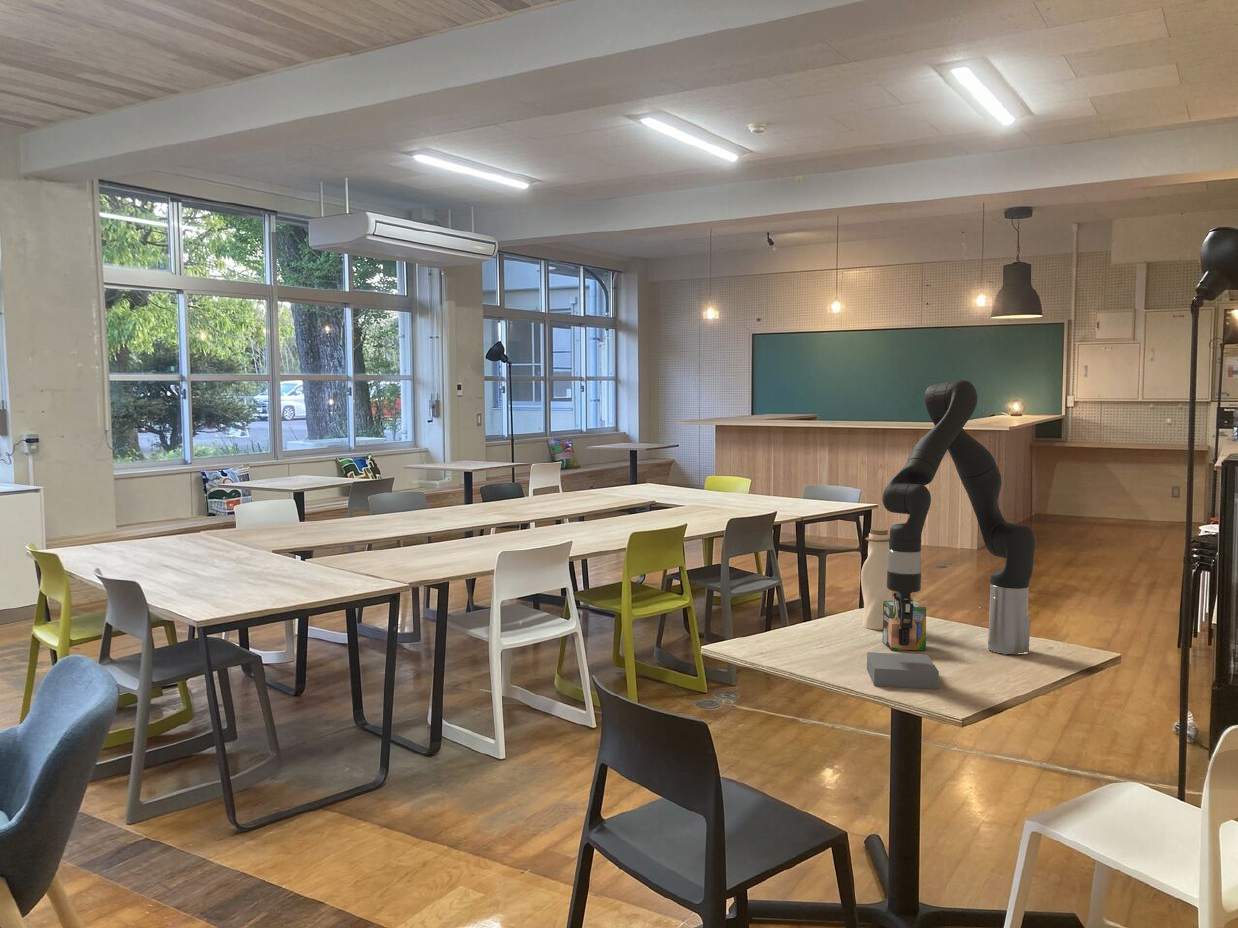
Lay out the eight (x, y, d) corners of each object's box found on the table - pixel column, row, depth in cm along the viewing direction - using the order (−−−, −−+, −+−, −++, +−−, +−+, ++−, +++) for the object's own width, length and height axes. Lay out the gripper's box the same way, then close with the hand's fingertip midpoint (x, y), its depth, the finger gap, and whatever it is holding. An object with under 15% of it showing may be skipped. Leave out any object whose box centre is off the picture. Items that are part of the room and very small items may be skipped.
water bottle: (870, 620, 278) (872, 525, 276) (899, 625, 272) (902, 528, 270) (854, 626, 270) (857, 529, 268) (884, 631, 264) (887, 532, 262)
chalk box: (926, 651, 244) (928, 594, 243) (890, 651, 244) (892, 594, 243) (915, 642, 253) (917, 587, 252) (881, 641, 253) (882, 587, 252)
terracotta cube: (912, 642, 222) (912, 619, 221) (915, 648, 216) (916, 624, 216) (887, 641, 222) (888, 618, 222) (891, 647, 217) (891, 623, 217)
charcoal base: (927, 671, 226) (927, 654, 225) (938, 688, 212) (938, 671, 212) (866, 668, 228) (867, 652, 227) (873, 685, 214) (874, 668, 214)
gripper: (926, 575, 210) (924, 650, 212) (915, 565, 225) (913, 635, 226) (891, 574, 212) (889, 649, 213) (883, 563, 226) (881, 633, 227)
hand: (901, 641), depth 219 cm, fingers closed on terracotta cube, 5 cm apart
